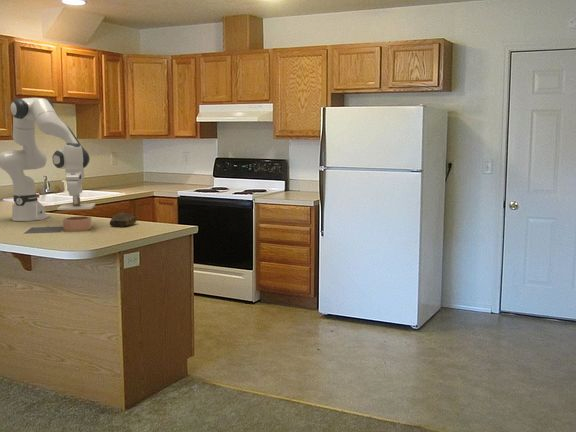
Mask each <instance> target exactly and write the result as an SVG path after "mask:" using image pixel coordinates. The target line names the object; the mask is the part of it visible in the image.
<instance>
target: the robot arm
mask: <svg viewBox="0 0 576 432" xmlns="http://www.w3.org/2000/svg"><path fill="white" fill-rule="evenodd" d="M9 109H10V113H11V115H12V117H13V120H12V121H13V122H12V123H13V124H12V140H13V142H14V143H16V144H18V145H19V146H22V150H21V149H20V150H16V149H15V150H13V149H12V150H6V151H3V152H2V151H1V152H0V169H2V170H3V171H4V172H6V173H7V174H8V176H9V177H10V179H11V181H12V186H13V195H12V198H13V202H14V203H13V204H12V209H11V213H12V215H11V217H10V220H11V221H14V222H31V221H42V220H45V219H47V218H49V217H50V216H51V215H50V214H47V213H46V208H45V206H44V205H43V204H42V203H40V201H38V200H39V199H38V198H40V194H39V193H38V194H36V184H35V183H36V182H35V180H34V179H33V177H30V176H27V175H25V173H24V171H27V170H38V169H42V168H45V166H46V164H47V160H48V159H47V156H46V153H44V151H42V149H40V148H39V147H38V145H37V143H36V137H35V135H36V134H35V133H36V130H35V129H36V126H37V127H38V129H39V130H40V131H41V132H42V133H43V134H46V135H49V136H53V137H57V138H58V139H62V140H63V141H64V142H65V144H64V146H63V147H62V148H60V149H58V150H55V151H54V153H53V155H52V163H53V165H54V167H55V168H57V169H63V170H64V169H65V172H64V173H65V181H66V182H67V190H68V191H67V192H68V194H69V196H71V197H72V201H73V200H74V204H77V203H78V199H77V197H80V198H81V196H80V194H81V193H83V184H82V183H83V180H85V168H86V167H87V166H88V164H89V163H90V158H91V157H90V154H89V152H88V151H87V150H86V149H85V148H84V147H83V145H82V144H81V143H80V142H79V139H78V138H77V137H76V135H75V134H74V132H73V131H72V130H71V128H70V127H69V126H68V125H67V124H65V123H64V122H63V121H62V120H61V119H60V118H59V116H58V115H57V113H56V110H55V107H54V104H53V102H52V100H51V99H49V98H46V97H28V98H27V97H24V98H15V99H13V100H12V101H11V102H10V106H9Z"/></svg>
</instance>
